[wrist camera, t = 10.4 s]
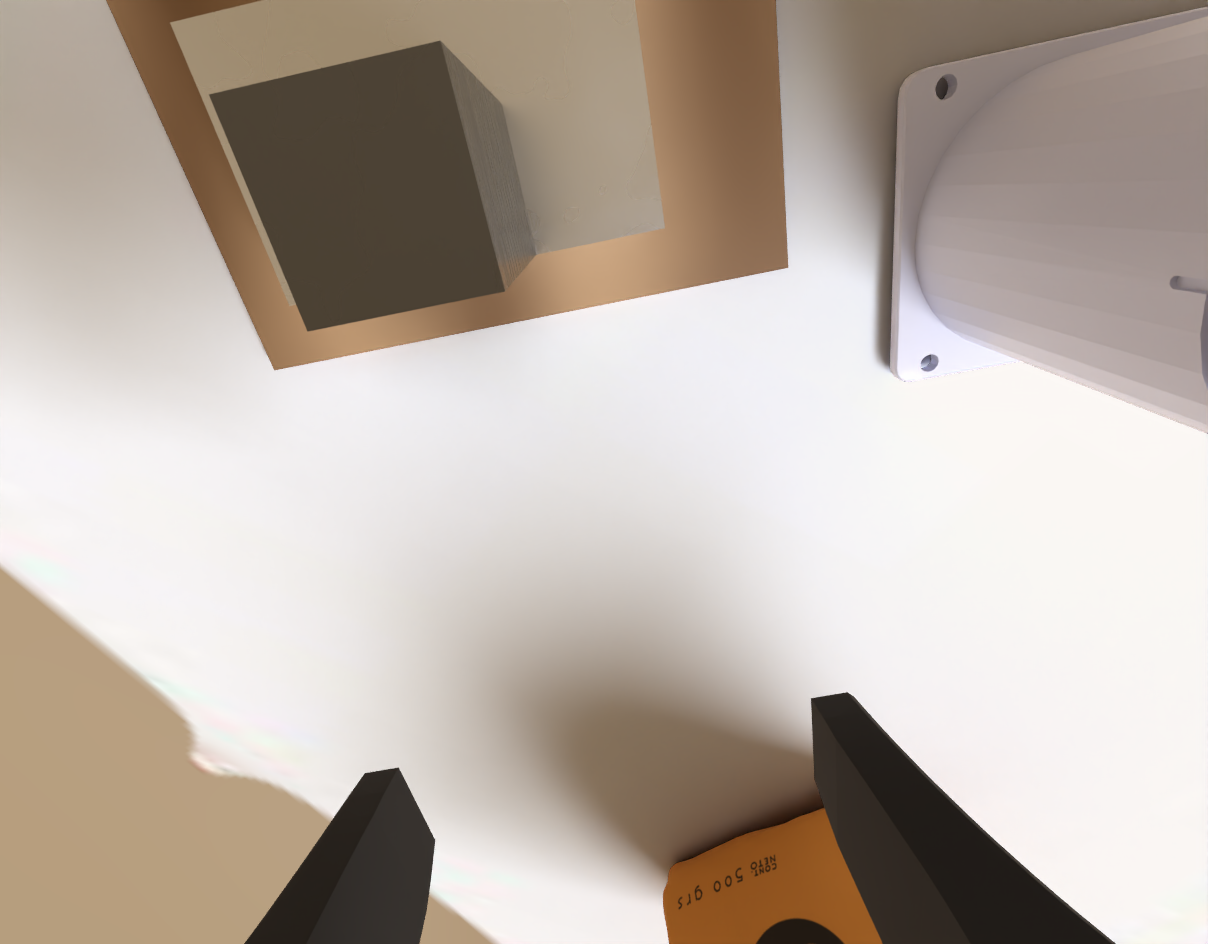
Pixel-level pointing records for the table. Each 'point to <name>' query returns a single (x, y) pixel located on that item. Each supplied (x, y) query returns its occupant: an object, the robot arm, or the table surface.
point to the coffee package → (769, 890)
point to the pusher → (426, 140)
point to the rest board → (555, 279)
